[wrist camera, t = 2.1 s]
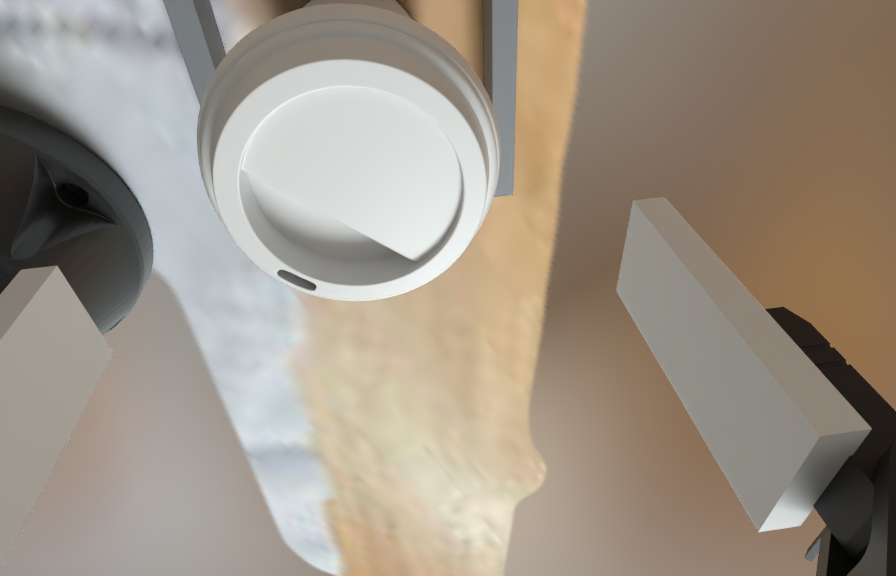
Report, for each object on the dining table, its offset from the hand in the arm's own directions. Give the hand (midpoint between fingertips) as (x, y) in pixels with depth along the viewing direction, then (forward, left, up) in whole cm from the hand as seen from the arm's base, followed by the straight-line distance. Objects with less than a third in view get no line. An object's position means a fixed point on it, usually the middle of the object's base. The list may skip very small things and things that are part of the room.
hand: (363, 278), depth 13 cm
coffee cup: (0, 0, -19) cm, 19 cm away
